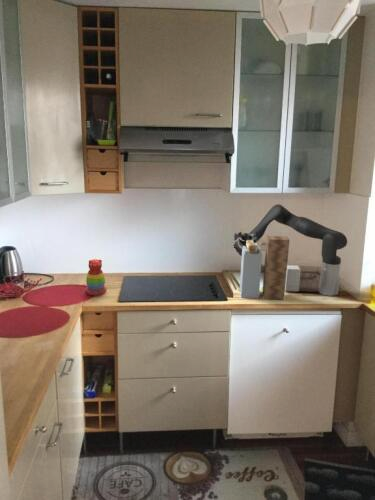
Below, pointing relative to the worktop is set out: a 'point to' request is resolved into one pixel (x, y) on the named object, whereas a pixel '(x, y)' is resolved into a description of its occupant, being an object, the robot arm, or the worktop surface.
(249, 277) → the holder
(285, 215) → the robot arm
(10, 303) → the worktop surface
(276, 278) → the walnut block
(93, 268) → the stacking bear
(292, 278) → the supplement box
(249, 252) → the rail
